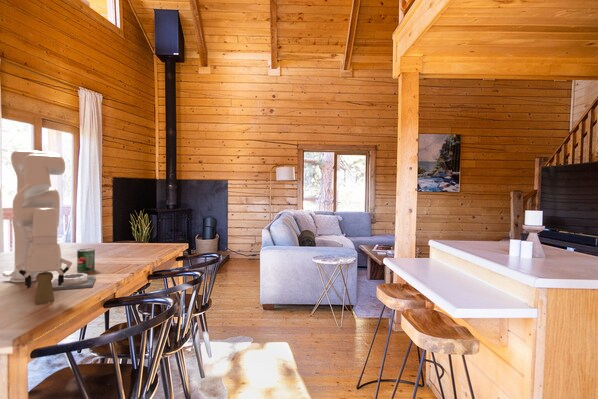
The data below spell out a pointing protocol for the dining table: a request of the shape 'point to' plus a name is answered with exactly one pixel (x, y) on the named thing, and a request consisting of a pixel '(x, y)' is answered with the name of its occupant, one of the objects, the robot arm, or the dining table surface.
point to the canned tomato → (85, 260)
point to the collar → (74, 281)
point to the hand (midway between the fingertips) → (44, 286)
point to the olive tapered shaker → (44, 288)
